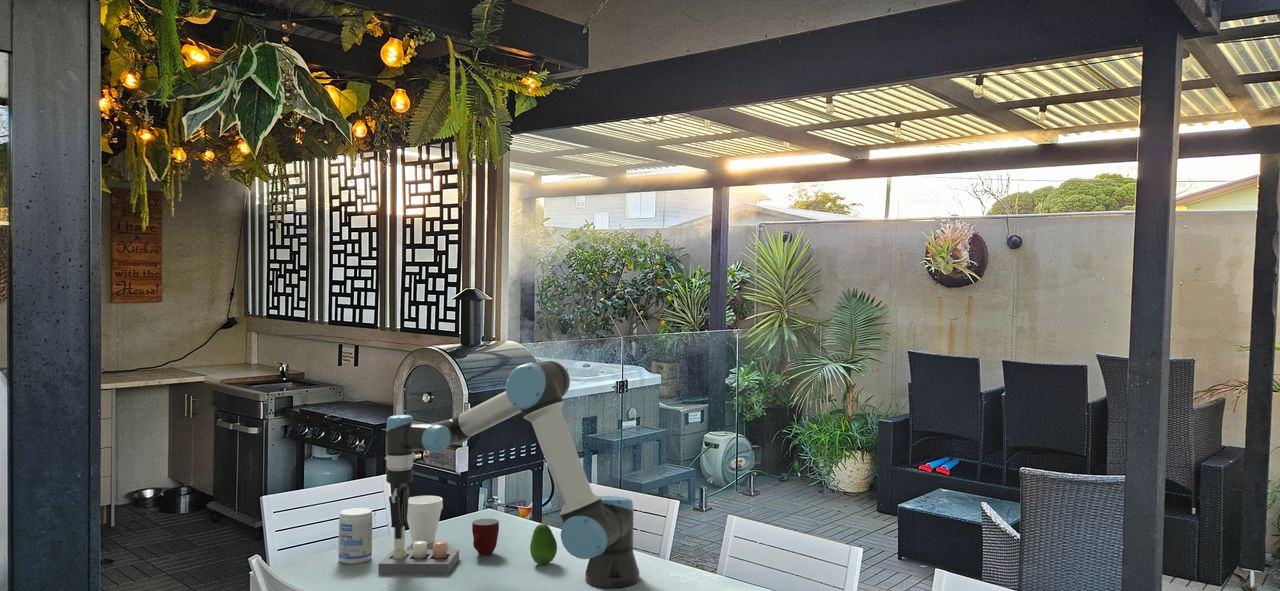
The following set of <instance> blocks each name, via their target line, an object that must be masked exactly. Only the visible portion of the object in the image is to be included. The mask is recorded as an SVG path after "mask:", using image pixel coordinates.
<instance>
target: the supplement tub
mask: <svg viewBox="0 0 1280 591" xmlns="http://www.w3.org/2000/svg"><path fill="white" fill-rule="evenodd" d="M338 518H339V519H338V560H339V562H340V563H343V564H346V565H347V564H348V565H349V564H350V565H351V564H352V565H355V564H363V563H365V562H368V561H369V560H371V559H372V555H373V554H372V551H373V511H372V509H370V508H367V507H355V508H354V507H353V508H346V509H344V510H341V511H340V512H339V517H338Z"/></svg>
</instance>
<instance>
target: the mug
mask: <svg viewBox="0 0 1280 591" xmlns="http://www.w3.org/2000/svg"><path fill="white" fill-rule="evenodd" d="M471 524H472V525H471V526H472V529H471V530H472V531H471V532H472V538H473V543H472V544H473V548H474V550H476V552H477V553H478V555H479V556H481V557H488V556H491V555H493V553H494V551H495V549H496V547H497V543H498V537H499V530H500V521H499V520H498V519H495V518H480V519H479V518H478V519H476V520H473V521H472V523H471Z"/></svg>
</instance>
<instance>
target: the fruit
mask: <svg viewBox="0 0 1280 591" xmlns="http://www.w3.org/2000/svg"><path fill="white" fill-rule="evenodd" d="M529 549H530V556H531V558H532V559H533V560H532V561H534V563H536V564H537V565H540V566H543V565H548V564H549V563H551V562H553V560H554V559H555V557H556V555H557V552H558V551H557V550H558V543H557V541H556V538H555V536H554V534H553V531H552V529H551V528H550V526H549V525H548V524H546V523H540V524H538V525H537V526H536V527H535V528H534V530H533V533H532V536H531V539H530V545H529Z"/></svg>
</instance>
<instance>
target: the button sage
mask: <svg viewBox="0 0 1280 591" xmlns="http://www.w3.org/2000/svg"><path fill="white" fill-rule="evenodd" d="M392 550H393V559H406V558H407V550H408V548H406V547H405V548H404V549H394V548H393V549H392Z"/></svg>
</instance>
